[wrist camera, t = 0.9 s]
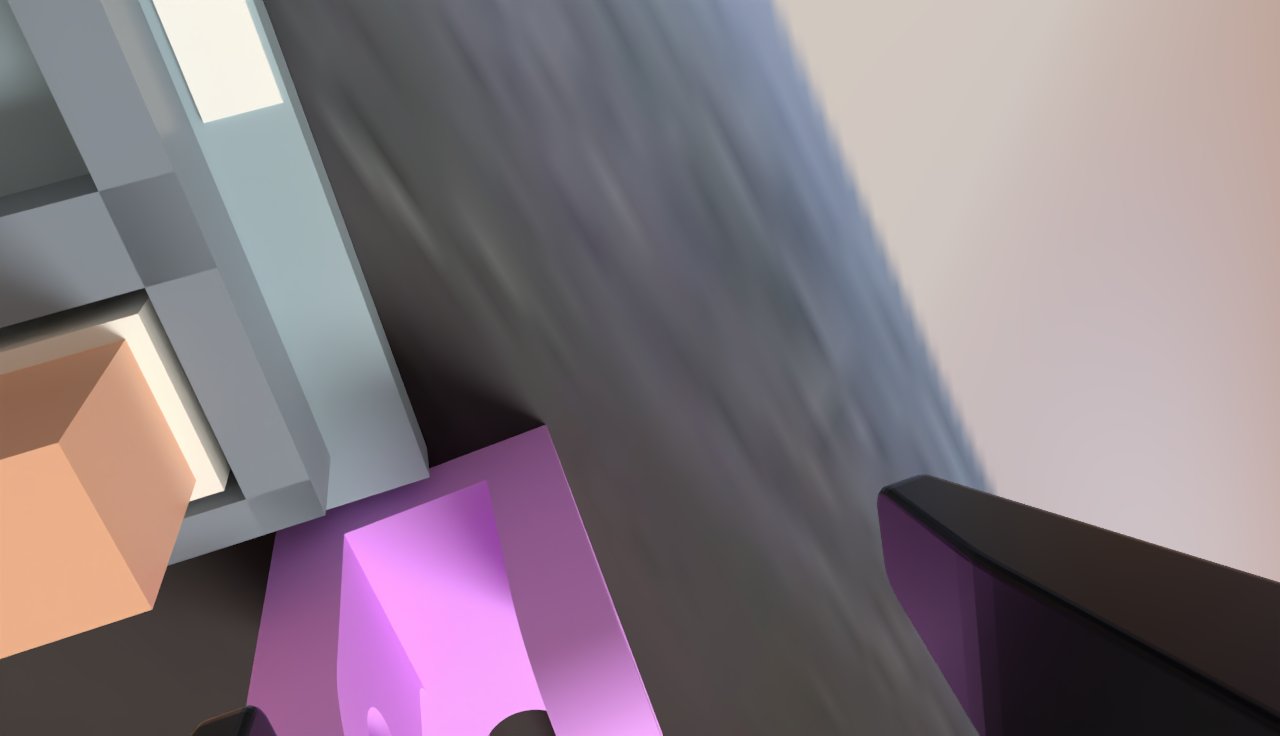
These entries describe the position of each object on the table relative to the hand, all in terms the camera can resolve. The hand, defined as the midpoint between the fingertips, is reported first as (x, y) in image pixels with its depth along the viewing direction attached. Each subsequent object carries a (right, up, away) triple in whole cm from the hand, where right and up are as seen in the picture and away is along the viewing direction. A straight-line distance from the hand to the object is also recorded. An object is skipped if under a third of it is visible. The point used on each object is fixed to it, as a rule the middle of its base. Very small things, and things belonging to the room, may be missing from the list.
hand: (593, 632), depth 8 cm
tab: (-8, +2, +8) cm, 11 cm away
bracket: (-3, -5, +14) cm, 16 cm away
